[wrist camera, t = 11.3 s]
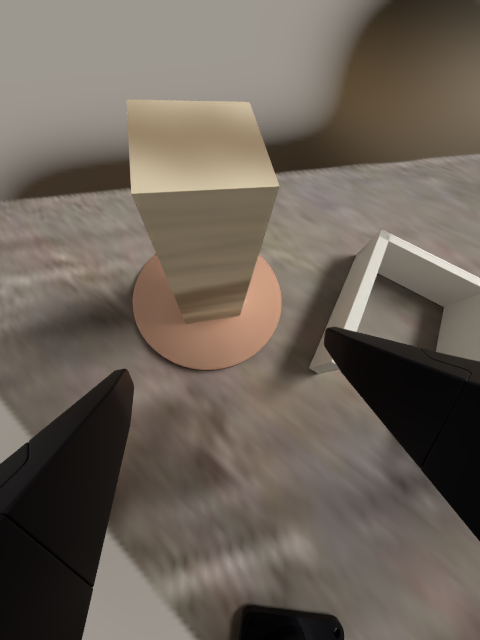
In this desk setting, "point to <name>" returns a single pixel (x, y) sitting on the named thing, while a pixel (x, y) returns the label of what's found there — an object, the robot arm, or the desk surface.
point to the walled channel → (420, 277)
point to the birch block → (202, 198)
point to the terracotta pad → (208, 336)
